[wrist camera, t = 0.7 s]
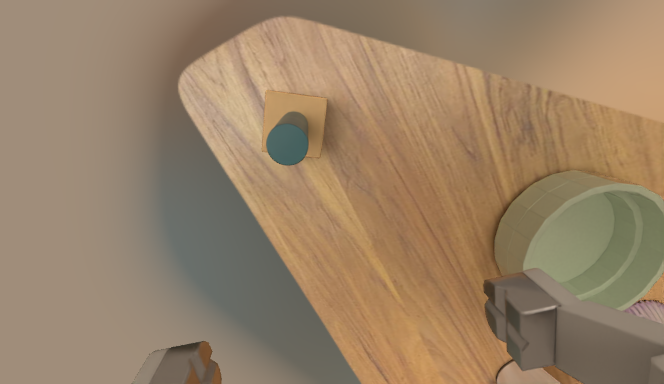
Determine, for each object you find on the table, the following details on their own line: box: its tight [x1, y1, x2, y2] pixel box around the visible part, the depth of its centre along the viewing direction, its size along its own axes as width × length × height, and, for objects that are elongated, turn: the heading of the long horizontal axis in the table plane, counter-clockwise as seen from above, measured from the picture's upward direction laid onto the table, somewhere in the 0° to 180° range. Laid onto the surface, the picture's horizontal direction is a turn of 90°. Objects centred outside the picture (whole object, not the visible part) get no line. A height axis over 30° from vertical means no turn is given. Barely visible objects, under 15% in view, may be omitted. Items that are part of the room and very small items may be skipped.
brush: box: [262, 90, 328, 165], centre depth 25 cm, size 5×5×14 cm
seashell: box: [623, 300, 664, 324], centre depth 42 cm, size 10×6×10 cm
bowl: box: [494, 170, 664, 311], centre depth 35 cm, size 15×15×6 cm
